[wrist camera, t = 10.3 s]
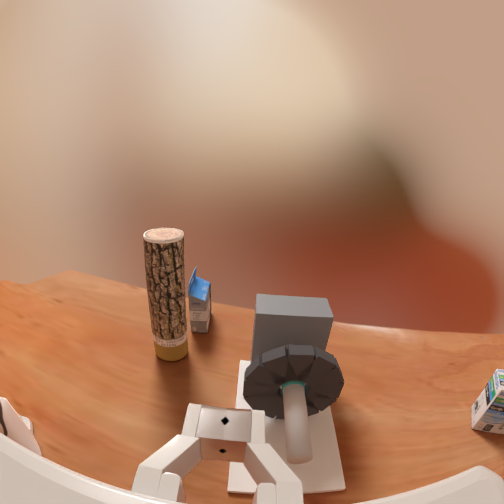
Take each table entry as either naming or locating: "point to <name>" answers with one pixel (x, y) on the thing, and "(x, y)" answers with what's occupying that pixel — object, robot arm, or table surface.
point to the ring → (292, 379)
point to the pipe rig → (293, 397)
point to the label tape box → (199, 303)
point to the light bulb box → (490, 406)
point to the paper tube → (166, 291)
